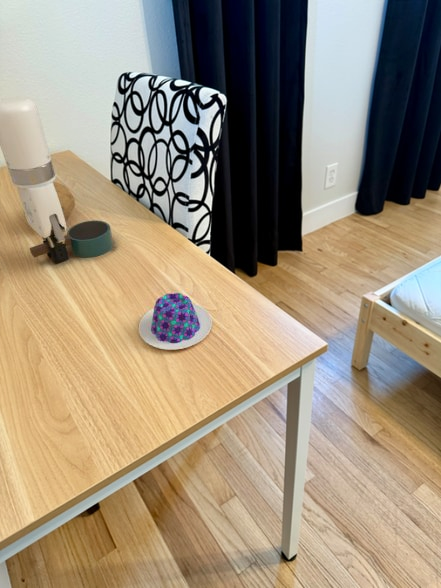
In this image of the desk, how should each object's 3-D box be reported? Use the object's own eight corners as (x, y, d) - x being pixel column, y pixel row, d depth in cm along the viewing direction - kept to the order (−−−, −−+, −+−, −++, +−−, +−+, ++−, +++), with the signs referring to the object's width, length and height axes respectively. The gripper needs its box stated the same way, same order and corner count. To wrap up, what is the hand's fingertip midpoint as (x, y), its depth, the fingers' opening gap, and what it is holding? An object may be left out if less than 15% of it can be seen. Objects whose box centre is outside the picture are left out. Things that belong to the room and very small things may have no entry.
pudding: (226, 333, 69) (225, 307, 66) (160, 364, 64) (155, 338, 61) (188, 296, 77) (186, 272, 74) (127, 321, 72) (122, 297, 69)
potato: (30, 237, 97) (19, 204, 92) (41, 210, 108) (31, 180, 103) (74, 232, 98) (66, 200, 93) (80, 206, 109) (73, 176, 105)
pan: (102, 232, 98) (98, 215, 95) (121, 247, 92) (117, 230, 90) (29, 258, 90) (22, 241, 87) (44, 276, 84) (38, 258, 82)
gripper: (-2, 166, 81) (27, 249, 92) (26, 191, 71) (56, 281, 82) (37, 156, 85) (61, 238, 96) (69, 179, 75) (92, 267, 86)
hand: (58, 257), depth 89 cm, fingers closed
